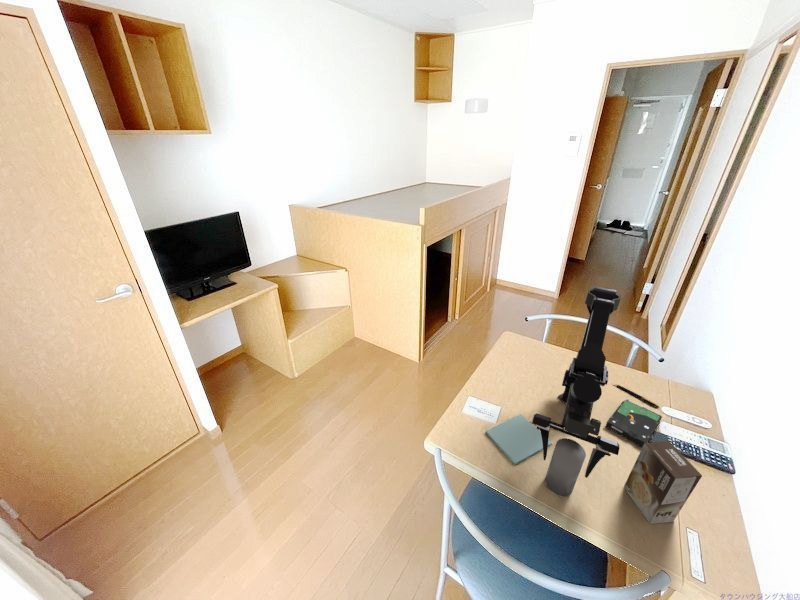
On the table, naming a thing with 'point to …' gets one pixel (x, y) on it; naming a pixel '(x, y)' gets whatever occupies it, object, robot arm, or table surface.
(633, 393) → the fountain pen
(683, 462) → the coffee box
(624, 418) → the disk drive
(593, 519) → the table surface
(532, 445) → the slate board
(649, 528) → the table surface
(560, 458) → the grey domed cylinder
